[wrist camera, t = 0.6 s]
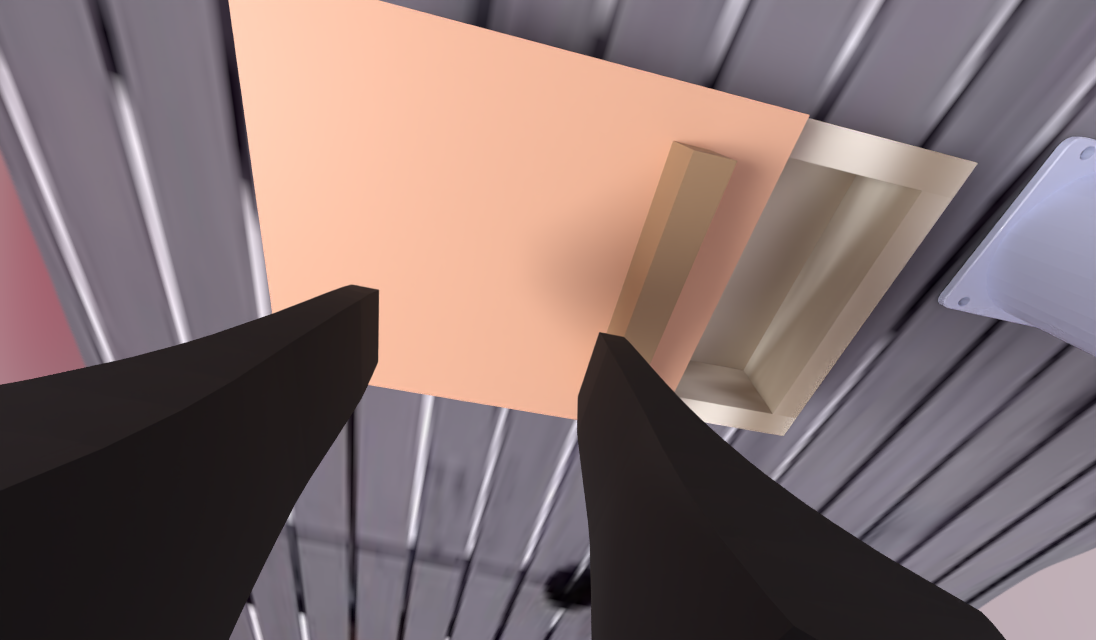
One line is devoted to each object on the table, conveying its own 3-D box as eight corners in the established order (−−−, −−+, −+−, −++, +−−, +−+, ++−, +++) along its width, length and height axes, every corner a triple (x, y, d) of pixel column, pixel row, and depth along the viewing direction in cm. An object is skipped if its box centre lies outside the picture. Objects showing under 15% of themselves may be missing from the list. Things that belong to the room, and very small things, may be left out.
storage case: (890, 147, 17) (977, 163, 14) (748, 383, 23) (783, 435, 20) (516, 49, 15) (506, 37, 12) (473, 332, 22) (459, 379, 18)
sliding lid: (791, 112, 13) (854, 120, 10) (649, 416, 19) (665, 469, 16) (249, -31, 11) (154, -68, 8) (294, 355, 17) (248, 403, 15)
